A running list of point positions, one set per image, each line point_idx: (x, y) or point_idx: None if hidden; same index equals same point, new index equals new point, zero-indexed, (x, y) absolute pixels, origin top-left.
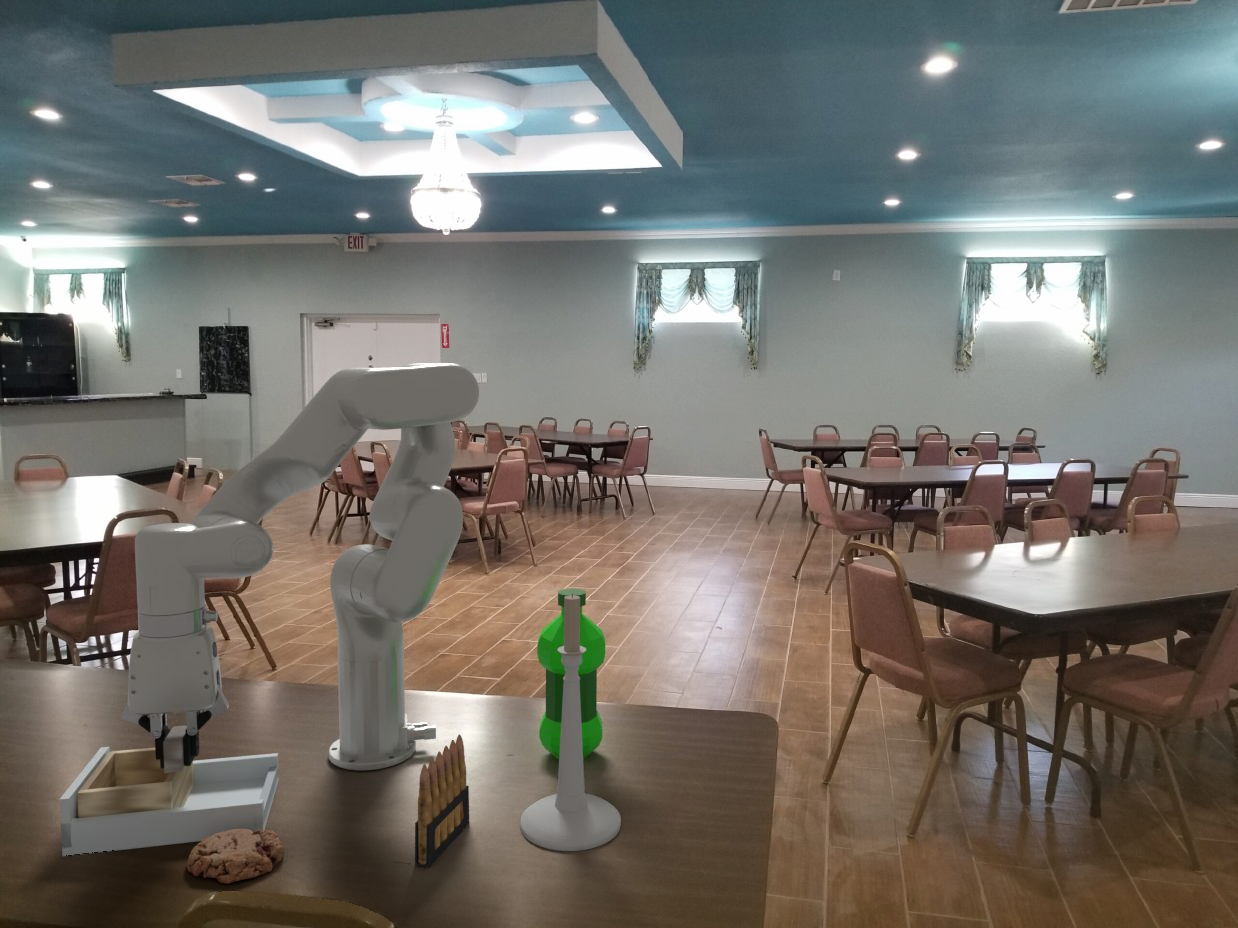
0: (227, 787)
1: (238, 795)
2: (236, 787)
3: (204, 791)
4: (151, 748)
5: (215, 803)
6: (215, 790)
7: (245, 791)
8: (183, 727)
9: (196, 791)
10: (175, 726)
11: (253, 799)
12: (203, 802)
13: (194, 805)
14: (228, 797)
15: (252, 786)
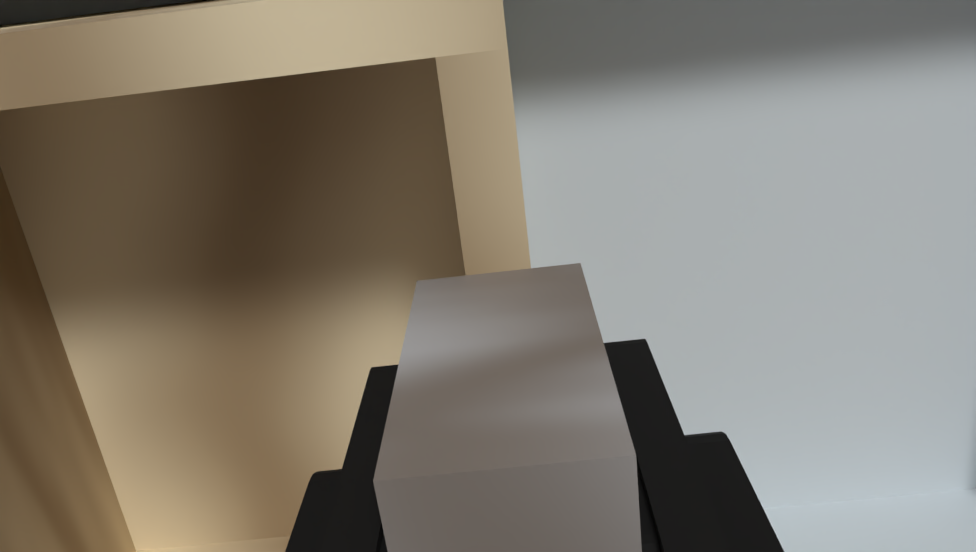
0: (752, 12)
1: (850, 151)
2: (819, 21)
3: (600, 61)
4: (55, 46)
5: (717, 247)
6: (675, 54)
7: (891, 96)
8: (557, 532)
9: (542, 53)
10: (410, 483)
11: (953, 218)
12: (638, 227)
13: (591, 260)
14: (787, 175)
15: (935, 20)
